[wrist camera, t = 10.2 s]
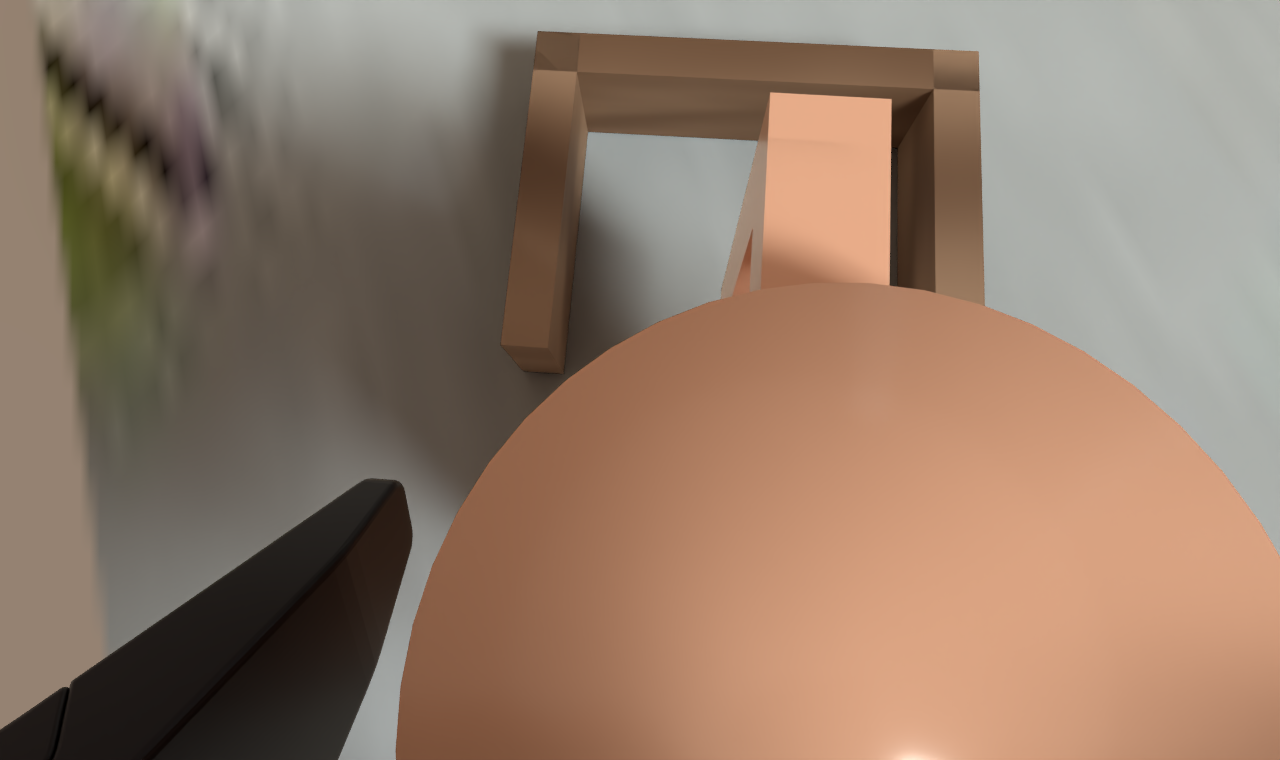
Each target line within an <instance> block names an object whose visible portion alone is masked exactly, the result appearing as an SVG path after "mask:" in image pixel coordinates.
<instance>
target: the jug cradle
mask: <svg viewBox="0 0 1280 760" xmlns="http://www.w3.org/2000/svg"><path fill="white" fill-rule="evenodd" d="M770 92H771V93H789V94H808V95H826V96H844V97H863V98H881V99H892V104H891V148H898V242H897V287H904V288H912V289H919V290H926V291H930V292H934V293H938V294H942V295H945V296H949V297H953V298H957V299H961V300H965V301H969V302H973V303H977V304H980V305H983V306H985V299H984V257H983V216H982V174H981V133H980V91H979V52H978V51H956V50H935V49H913V48H891V47H870V46H848V45H826V44H804V43H783V42H761V41H739V40H718V39H696V38H674V37H652V36H631V35H609V34H587V33H566V32H544V31H538V34H537V42H536V51H535V59H534V68H533V76H532V84H531V93H530V101H529V109H528V118H527V126H526V135H525V143H524V151H523V160H522V168H521V177H520V185H519V193H518V202H517V210H516V219H515V227H514V235H513V244H512V252H511V261H510V269H509V277H508V286H507V294H506V303H505V311H504V319H503V328H502V336H501V344H500V345H501V346H502V347H503V348H504V350H505V351H506V352H507V353H508V354H509V355H510V357H511V358H512V359H513V360H514V361H515V362H516V363H517V365H518V366H519V367H520V368H521V369H522V370H523V371H529V372H544V373H559V374H564V366H565V356H566V346H567V336H568V326H569V316H570V306H571V296H572V286H573V276H574V266H575V256H576V246H577V236H578V226H579V216H580V206H581V196H582V186H583V176H584V166H585V156H586V145H587V135H588V132H603V133H622V134H641V135H660V136H679V137H699V138H718V139H737V140H756V141H758V140H759V136H760V132H761V128H762V124H763V120H764V116H765V112H766V107H767V103H768V99H769V95H770Z"/></svg>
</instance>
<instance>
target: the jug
mask: <svg viewBox="0 0 1280 760" xmlns="http://www.w3.org/2000/svg"><path fill="white" fill-rule="evenodd" d="M891 104H892V99H881V98H863V97H844V96H826V95H808V94H789V93H771V92H770V95H769V99H768V103H767V107H766V112H765V116H764V120H763V124H762V128H761V132H760V136H759V140H758V144H757V148H756V152H755V156H754V160H753V164H752V168H751V172H750V176H749V180H748V184H747V188H746V192H745V196H744V200H743V204H742V208H741V212H740V216H739V220H738V224H737V228H736V232H735V236H734V240H733V244H732V248H731V252H730V256H729V260H728V264H727V268H726V272H725V276H724V280H723V284H722V288H721V299H720V300H716V301H712V302H708V303H706V304H703V305H701V306H698V307H695V308H693V309H690V310H688V311H685V312H683V313H680V314H678V315H675V316H672V317H670V318H667V319H665V320H662V321H660V322H657V323H656V324H654V325H652V326H650V327H648V328H646V329H645V330H643V331H641V332H639V333H637V334H635V335H634V336H632V337H630V338H628V339H626V340H624V341H623V342H621V343H619V344H617V345H615V346H613V347H612V348H610V349H609V350H607V351H606V352H604V353H603V354H602V355H600V356H599V357H597V358H596V359H595V360H593V361H592V362H591V363H589V364H588V365H586V366H585V367H584V368H582V369H581V370H580V371H578V372H577V373H575V374H574V375H573V376H571V377H570V378H569V379H567V380H566V381H565V382H564V383H563V384H562V385H560V386H559V387H558V388H557V389H556V390H555V391H554V392H553V393H552V394H551V395H550V396H549V397H548V398H547V399H546V400H545V401H543V402H542V403H541V404H540V405H539V406H538V407H537V408H536V409H535V410H534V411H533V412H532V413H531V414H530V415H529V416H527V417H526V418H525V420H524V421H523V422H522V423H521V424H520V426H519V427H518V428H517V429H516V430H515V432H514V433H513V434H512V435H511V436H510V438H509V439H508V440H507V441H506V443H505V444H504V445H503V446H502V447H501V449H500V450H499V451H498V452H497V453H496V455H495V456H494V457H493V458H492V459H491V461H490V462H489V463H488V465H487V466H486V468H485V470H484V471H483V473H482V474H481V476H480V478H479V479H478V481H477V482H476V484H475V485H474V487H473V489H472V490H471V492H470V493H469V495H468V496H467V498H466V500H465V501H464V503H463V504H462V506H461V507H460V509H459V511H458V512H457V515H456V517H455V519H454V521H453V523H452V525H451V527H450V529H449V531H448V534H447V536H446V538H445V540H444V542H443V544H442V546H441V548H440V551H439V553H438V555H437V557H436V559H435V561H434V563H433V565H432V568H431V571H430V574H429V577H428V580H427V583H426V586H425V589H424V592H423V595H422V599H421V602H420V605H419V608H418V611H417V614H416V617H415V620H414V623H413V627H412V632H411V637H410V642H409V647H408V652H407V657H406V662H405V667H404V672H403V677H402V682H401V689H400V702H399V714H398V727H397V740H396V760H1280V556H1279V555H1278V553H1277V551H1276V549H1275V548H1274V546H1273V544H1272V542H1271V541H1270V539H1269V537H1268V535H1267V534H1266V532H1265V530H1264V528H1263V527H1262V525H1261V523H1260V522H1259V520H1258V519H1257V518H1256V516H1255V515H1254V514H1253V512H1252V511H1251V509H1250V508H1249V507H1248V505H1247V504H1246V503H1245V501H1244V500H1243V499H1242V497H1241V496H1240V494H1239V493H1238V492H1237V490H1236V489H1235V488H1234V486H1233V485H1232V484H1231V482H1230V481H1229V479H1228V478H1227V477H1226V475H1225V474H1224V473H1223V471H1222V470H1221V469H1220V468H1219V467H1218V466H1217V465H1216V464H1215V463H1214V462H1213V461H1212V459H1211V458H1210V457H1209V456H1208V455H1207V454H1206V453H1205V452H1204V451H1203V450H1202V449H1201V448H1200V446H1199V445H1198V444H1197V443H1196V442H1195V441H1194V440H1193V439H1192V438H1191V437H1190V436H1189V435H1188V433H1187V432H1186V431H1185V430H1184V429H1183V428H1182V427H1181V426H1180V425H1179V424H1178V423H1177V422H1176V421H1174V420H1173V419H1172V418H1171V417H1170V416H1169V415H1167V414H1166V413H1165V412H1164V411H1163V410H1162V409H1160V408H1159V407H1158V406H1157V405H1156V404H1155V403H1154V402H1152V401H1151V400H1150V399H1149V398H1148V397H1147V396H1145V395H1144V394H1143V393H1142V392H1141V391H1140V390H1138V389H1137V388H1136V387H1135V386H1134V385H1132V384H1131V383H1129V382H1128V381H1126V380H1125V379H1124V378H1122V377H1121V376H1119V375H1118V374H1116V373H1115V372H1113V371H1112V370H1110V369H1109V368H1107V367H1106V366H1104V365H1103V364H1102V363H1100V362H1099V361H1097V360H1096V359H1094V358H1093V357H1091V356H1090V355H1088V354H1087V353H1085V352H1084V351H1082V350H1080V349H1078V348H1076V347H1074V346H1072V345H1071V344H1069V343H1067V342H1065V341H1063V340H1061V339H1059V338H1057V337H1055V336H1053V335H1051V334H1050V333H1048V332H1046V331H1044V330H1042V329H1040V328H1038V327H1036V326H1034V325H1032V324H1030V323H1027V322H1025V321H1022V320H1019V319H1017V318H1014V317H1012V316H1009V315H1006V314H1004V313H1001V312H999V311H996V310H993V309H991V308H988V307H985V306H983V305H980V304H977V303H973V302H969V301H965V300H961V299H957V298H953V297H949V296H945V295H942V294H938V293H934V292H930V291H926V290H919V289H912V288H904V287H896V286H890V195H891Z"/></svg>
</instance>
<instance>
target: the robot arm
mask: <svg viewBox="0 0 1280 760" xmlns="http://www.w3.org/2000/svg"><path fill="white" fill-rule="evenodd" d="M412 538H413V533H412V525H411V520H410V515H409V510H408V505H407V500H406V495H405V490H404V487H403V485H402V484H401V483H400V482H399V481H396V480H388V479H374V478H370V479H365V480H363V481H361V482H360V483H358V484H357V485H355V486H354V487H352V488H351V489H349V490H348V491H347V492H345V493H344V494H342V495H341V496H339V497H338V498H336V499H335V500H333V501H332V502H331V503H329V504H328V505H326V506H325V507H323V508H322V509H320V510H319V511H318V512H316V513H315V514H313V515H312V516H310V517H309V518H307V519H306V520H304V521H303V522H302V523H300V524H299V525H297V526H296V527H294V528H293V529H291V530H290V531H289V532H287V533H286V534H284V535H283V536H281V537H280V538H278V539H277V540H276V541H274V542H273V543H271V544H270V545H268V546H267V547H265V548H264V549H262V550H261V551H260V552H258V553H257V554H255V555H254V556H252V557H251V558H249V559H248V560H247V561H245V562H244V563H242V564H241V565H239V566H238V567H236V568H235V569H233V570H232V571H231V572H229V573H228V574H226V575H225V576H223V577H222V578H220V579H219V580H218V581H216V582H215V583H213V584H212V585H210V586H209V587H207V588H206V589H205V590H203V591H202V592H200V593H199V594H197V595H196V596H194V597H193V598H191V599H190V600H189V601H187V602H186V603H184V604H183V605H181V606H180V607H178V608H177V609H176V610H174V611H173V612H171V613H170V614H168V615H167V616H165V617H164V618H162V619H161V620H160V621H158V622H157V623H155V624H154V625H152V626H151V627H149V628H148V629H147V630H145V631H144V632H142V633H141V634H139V635H138V636H136V637H135V638H134V639H132V640H131V641H129V642H128V643H126V644H125V645H123V646H122V647H120V648H119V649H118V650H116V651H115V652H113V653H112V654H110V655H109V656H107V657H106V658H105V659H103V660H102V661H100V662H99V663H97V664H96V665H94V666H93V667H91V668H90V669H89V670H87V671H86V672H84V673H83V674H82V675H80V676H78V677H77V678H76V679H74V680H73V681H72V682H71V684H70V688H68V687H63V688H61V689H59V690H58V691H56V692H55V693H54V694H52V695H50V696H49V697H48V698H46V699H45V700H43V701H42V702H40V703H39V704H37V705H36V706H35V707H33V708H32V709H30V710H29V711H27V712H26V713H24V714H23V715H21V716H20V717H19V718H17V719H16V720H14V721H13V722H11V723H10V724H8V725H7V726H5V727H4V728H2V729H1V730H0V760H338V758H339V756H340V754H341V751H342V749H343V746H344V744H345V742H346V739H347V737H348V734H349V732H350V730H351V727H352V725H353V722H354V720H355V718H356V715H357V713H358V711H359V708H360V706H361V703H362V701H363V699H364V696H365V694H366V691H367V689H368V686H369V684H370V681H371V679H372V676H373V674H374V671H375V668H376V666H377V662H378V659H379V656H380V653H381V650H382V647H383V643H384V640H385V636H386V633H387V630H388V626H389V623H390V619H391V616H392V612H393V609H394V606H395V602H396V599H397V595H398V592H399V588H400V585H401V582H402V578H403V575H404V571H405V568H406V564H407V561H408V557H409V554H410V550H411V546H412Z"/></svg>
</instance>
